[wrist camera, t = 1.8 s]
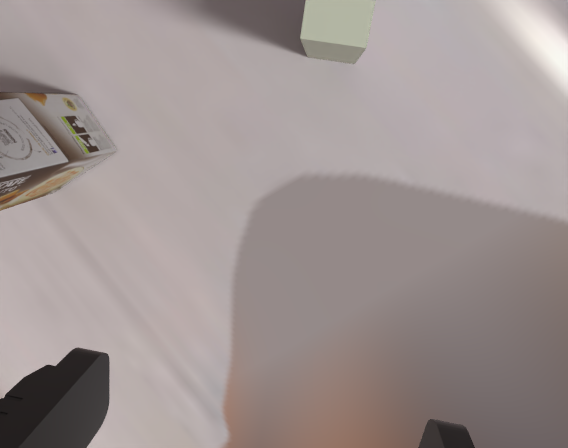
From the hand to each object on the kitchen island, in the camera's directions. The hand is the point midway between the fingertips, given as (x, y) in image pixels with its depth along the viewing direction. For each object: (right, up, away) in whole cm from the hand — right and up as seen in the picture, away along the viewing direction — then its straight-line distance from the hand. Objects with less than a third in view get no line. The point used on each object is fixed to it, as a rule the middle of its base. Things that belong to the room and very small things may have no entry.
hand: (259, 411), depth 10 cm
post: (+5, +20, +23) cm, 31 cm away
